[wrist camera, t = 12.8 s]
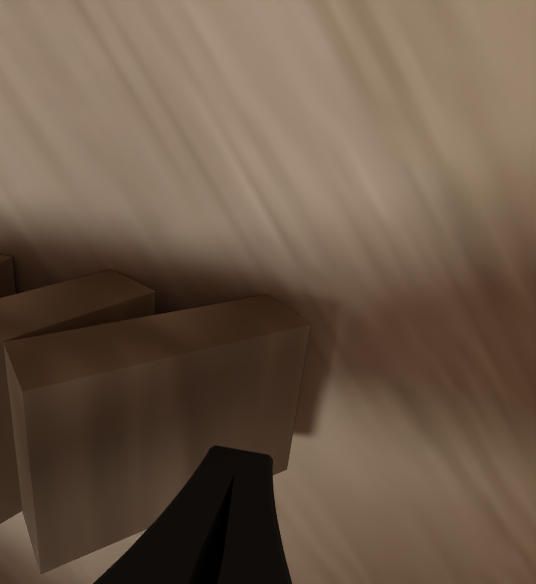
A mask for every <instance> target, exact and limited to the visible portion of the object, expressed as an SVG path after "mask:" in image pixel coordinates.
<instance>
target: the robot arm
mask: <svg viewBox="0 0 536 584" xmlns="http://www.w3.org/2000/svg"><path fill="white" fill-rule="evenodd" d="M93 584H292V582H291V578H290V574H289V570H288V566H287V562H286V558H285V554H284V550H283V545H282V541H281V535H280V530H279V525H278V520H277V514H276V508H275V500H274V491H273V459H272V458H271V456H270V455H268V454H262V453H256V452H251V451H245V450H240V449H234V448H228V447H223V446H217V445H215V446H213V447H211V448H210V449H209V451H208V452H207V454H206V456H205V457H204V459H203V460H202V462H201V463H200V465H199V466H198V468H197V469H196V471H195V472H194V474H193V475H192V476H191V478H190V479H189V480H188V482H187V483H186V484H185V486H184V487H183V488H182V489H181V491H180V492H179V493H178V494H177V496H176V497H175V498H174V499H173V500H172V502H171V503H170V504H169V505H168V507H167V508H166V509H165V510H164V511H163V513H162V514H161V515H160V516H159V517H158V518H157V519H156V521H155V522H154V523H153V524H152V525H151V526H150V527H149V528H148V529H147V530H146V531H145V532H144V534H143V535H142V536H141V537H140V538H139V539H138V540H137V541H136V542H135V543H134V544H133V545H132V546H131V547H130V549H129V550H128V551H127V552H126V553H125V554H124V555H123V556H122V557H121V558H120V559H119V560H118V561H116V562H115V563H114V564H113V565H112V566H111V567H110V568H109V569H108V570H107V571H106V572H105V573H104V574H103V575H102V576H101V577H99V578H98V579H97V580H96V581H95V582H94V583H93Z"/></svg>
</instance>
